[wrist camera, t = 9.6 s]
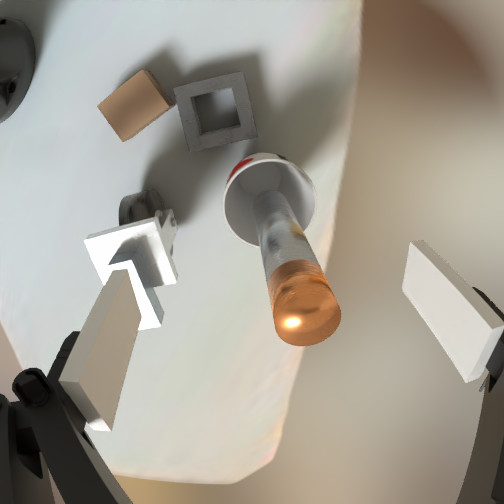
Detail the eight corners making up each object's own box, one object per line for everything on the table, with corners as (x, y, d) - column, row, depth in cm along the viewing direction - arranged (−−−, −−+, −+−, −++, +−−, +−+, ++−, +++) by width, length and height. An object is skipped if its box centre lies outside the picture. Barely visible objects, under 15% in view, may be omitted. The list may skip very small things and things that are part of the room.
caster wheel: (118, 191, 36) (71, 240, 24) (173, 176, 35) (144, 219, 24) (145, 264, 40) (116, 333, 28) (196, 252, 40) (184, 322, 28)
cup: (288, 135, 34) (309, 150, 25) (301, 202, 38) (322, 238, 29) (216, 151, 35) (211, 171, 26) (233, 217, 38) (235, 258, 29)
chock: (108, 104, 31) (96, 106, 28) (150, 71, 30) (142, 69, 27) (132, 137, 33) (122, 142, 30) (174, 105, 32) (169, 106, 29)
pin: (249, 194, 27) (269, 302, 13) (284, 186, 27) (338, 286, 13) (257, 227, 28) (280, 352, 15) (290, 219, 28) (342, 337, 15)
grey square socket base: (177, 88, 31) (173, 87, 28) (242, 73, 31) (243, 70, 28) (193, 148, 34) (189, 152, 32) (255, 133, 34) (257, 137, 31)
